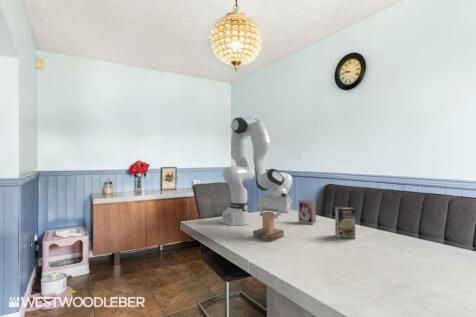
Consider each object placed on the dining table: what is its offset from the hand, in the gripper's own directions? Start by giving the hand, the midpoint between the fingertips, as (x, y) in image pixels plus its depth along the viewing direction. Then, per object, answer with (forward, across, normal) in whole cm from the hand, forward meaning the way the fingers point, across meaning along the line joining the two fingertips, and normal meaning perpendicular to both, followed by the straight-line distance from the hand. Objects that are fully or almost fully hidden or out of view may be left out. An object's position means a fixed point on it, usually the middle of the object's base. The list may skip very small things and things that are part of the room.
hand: (267, 216), depth 146 cm
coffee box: (-12, +32, +28) cm, 44 cm away
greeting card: (-24, +1, +40) cm, 47 cm away
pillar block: (+5, 0, +6) cm, 8 cm away
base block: (+8, 0, +9) cm, 12 cm away
